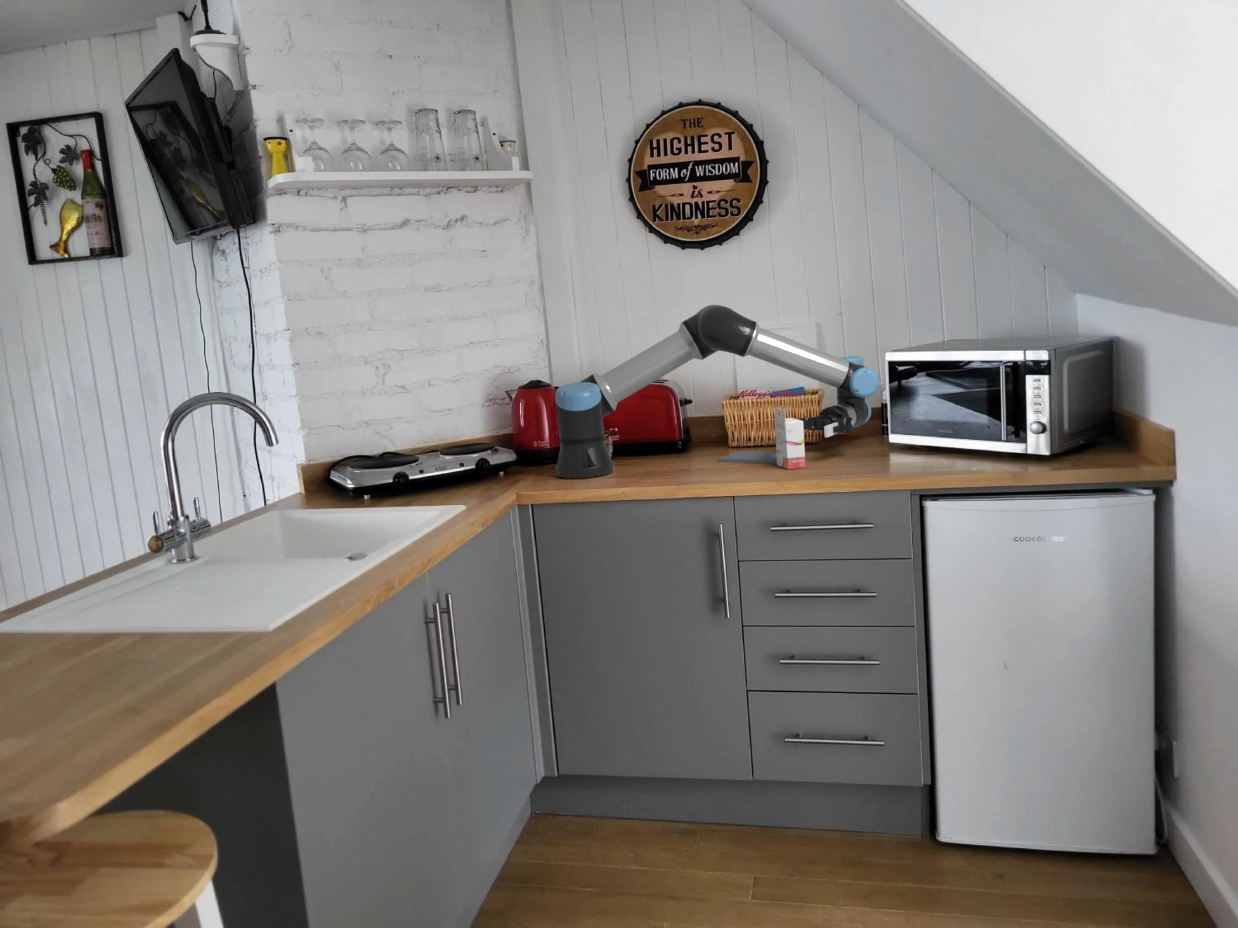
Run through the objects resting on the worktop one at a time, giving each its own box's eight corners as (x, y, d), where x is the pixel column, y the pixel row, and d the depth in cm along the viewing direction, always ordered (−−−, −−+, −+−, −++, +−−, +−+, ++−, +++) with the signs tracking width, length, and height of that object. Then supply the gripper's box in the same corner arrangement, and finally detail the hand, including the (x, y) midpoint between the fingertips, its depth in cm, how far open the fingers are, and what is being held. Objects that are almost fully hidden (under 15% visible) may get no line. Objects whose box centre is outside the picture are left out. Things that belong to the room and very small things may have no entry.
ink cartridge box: (806, 467, 261) (803, 408, 258) (787, 470, 260) (784, 410, 257) (794, 462, 269) (791, 405, 267) (776, 465, 268) (772, 407, 266)
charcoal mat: (718, 461, 280) (718, 458, 280) (741, 453, 290) (740, 450, 290) (779, 463, 270) (779, 460, 270) (800, 455, 279) (800, 452, 279)
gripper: (881, 433, 276) (847, 447, 259) (795, 432, 291) (757, 445, 274) (880, 405, 275) (846, 417, 258) (793, 405, 290) (756, 416, 273)
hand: (800, 431), depth 266 cm, fingers open, 13 cm apart
